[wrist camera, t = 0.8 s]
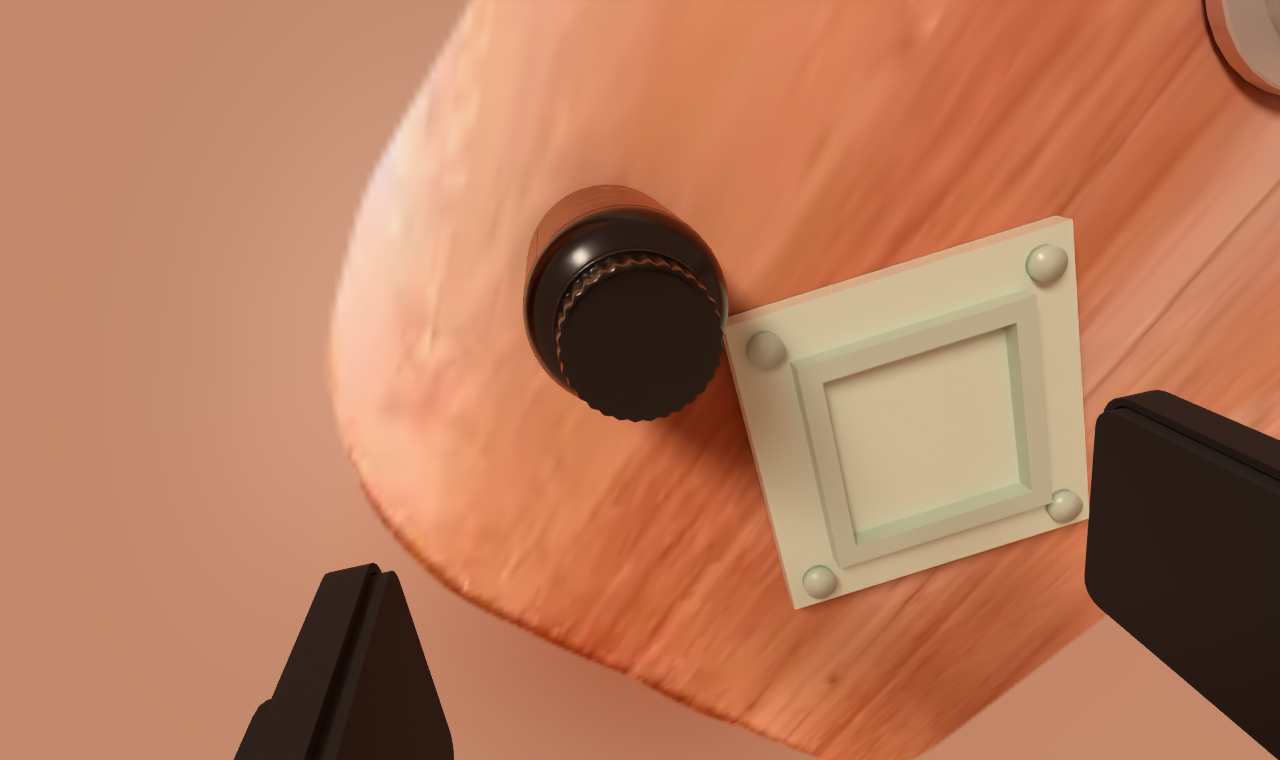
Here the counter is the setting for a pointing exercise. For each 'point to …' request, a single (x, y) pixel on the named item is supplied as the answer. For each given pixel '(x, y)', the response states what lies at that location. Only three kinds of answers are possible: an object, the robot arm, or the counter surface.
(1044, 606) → the counter surface
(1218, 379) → the counter surface
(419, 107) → the counter surface
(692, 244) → the supplement bottle
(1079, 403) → the seating plate
